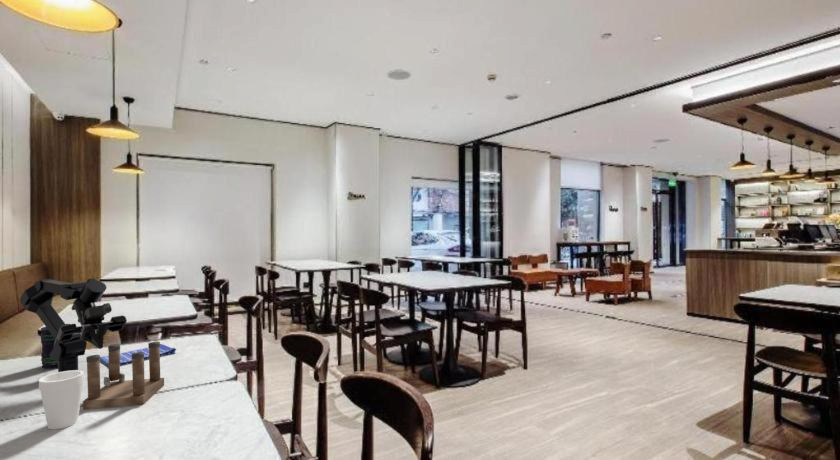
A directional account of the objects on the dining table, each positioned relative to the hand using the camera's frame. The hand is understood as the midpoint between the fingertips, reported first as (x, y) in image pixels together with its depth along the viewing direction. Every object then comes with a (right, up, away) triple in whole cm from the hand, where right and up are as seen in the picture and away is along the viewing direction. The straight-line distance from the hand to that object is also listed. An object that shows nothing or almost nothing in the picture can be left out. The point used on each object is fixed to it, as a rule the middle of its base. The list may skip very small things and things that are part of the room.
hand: (101, 347), depth 147 cm
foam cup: (+10, -13, -29) cm, 33 cm away
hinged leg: (+8, -9, -5) cm, 13 cm away
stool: (+15, -12, -10) cm, 22 cm away
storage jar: (-33, -13, +23) cm, 42 cm away
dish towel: (-8, -13, +33) cm, 36 cm away
